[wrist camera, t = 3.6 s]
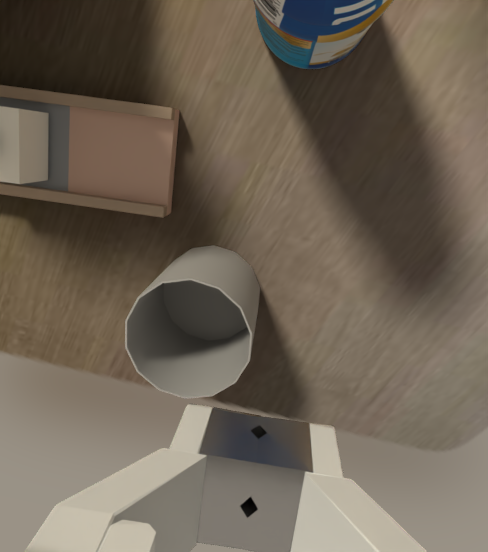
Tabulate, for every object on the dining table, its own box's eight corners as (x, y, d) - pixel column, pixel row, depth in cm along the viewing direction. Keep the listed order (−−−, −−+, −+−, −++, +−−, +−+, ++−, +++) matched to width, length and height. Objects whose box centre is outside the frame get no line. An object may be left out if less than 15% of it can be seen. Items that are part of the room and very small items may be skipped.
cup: (165, 240, 38) (125, 271, 29) (263, 249, 38) (256, 284, 28) (162, 333, 40) (124, 391, 31) (255, 343, 40) (245, 405, 30)
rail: (-117, 71, 36) (-145, 65, 34) (179, 110, 35) (171, 107, 33) (-108, 173, 38) (-134, 174, 36) (170, 213, 37) (163, 217, 35)
